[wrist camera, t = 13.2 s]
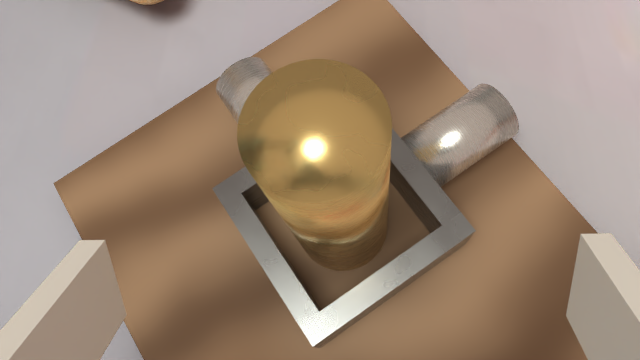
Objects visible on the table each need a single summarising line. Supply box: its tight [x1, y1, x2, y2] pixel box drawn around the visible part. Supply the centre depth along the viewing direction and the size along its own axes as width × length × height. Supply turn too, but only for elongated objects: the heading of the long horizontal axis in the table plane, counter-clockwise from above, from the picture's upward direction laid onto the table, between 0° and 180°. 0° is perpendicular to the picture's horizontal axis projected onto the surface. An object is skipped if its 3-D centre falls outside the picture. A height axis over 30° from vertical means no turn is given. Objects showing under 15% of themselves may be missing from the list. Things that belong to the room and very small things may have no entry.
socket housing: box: [212, 57, 519, 348], centre depth 26 cm, size 13×13×3 cm
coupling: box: [237, 59, 392, 271], centre depth 21 cm, size 4×4×12 cm
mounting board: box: [53, 0, 598, 360], centre depth 26 cm, size 24×21×1 cm
